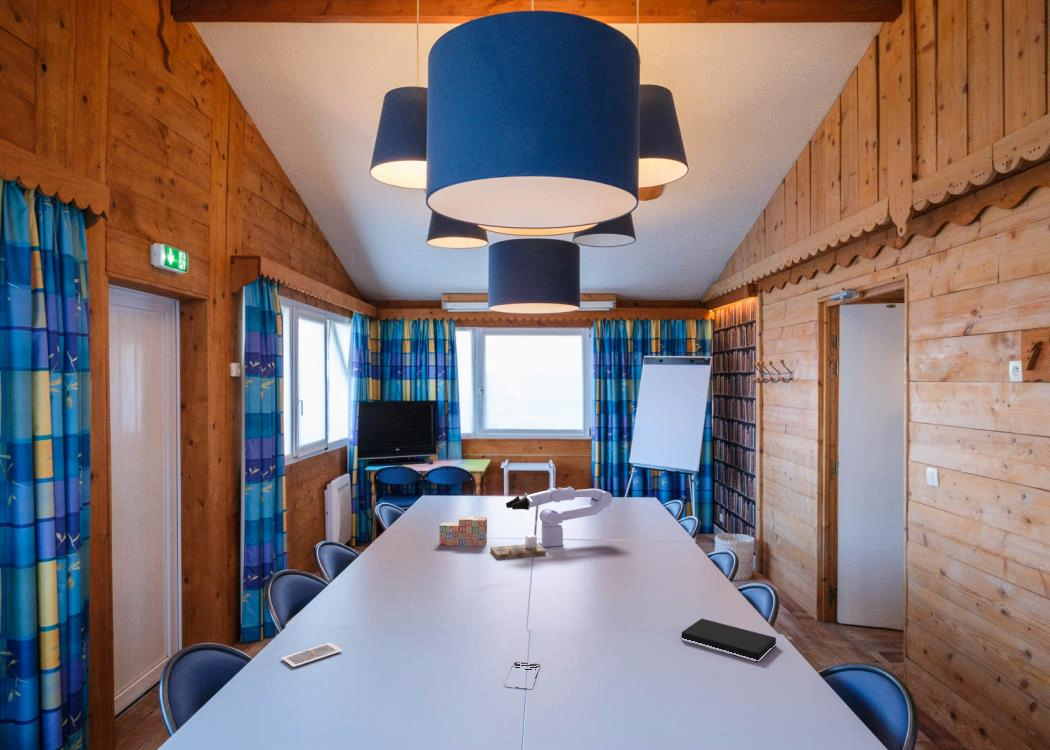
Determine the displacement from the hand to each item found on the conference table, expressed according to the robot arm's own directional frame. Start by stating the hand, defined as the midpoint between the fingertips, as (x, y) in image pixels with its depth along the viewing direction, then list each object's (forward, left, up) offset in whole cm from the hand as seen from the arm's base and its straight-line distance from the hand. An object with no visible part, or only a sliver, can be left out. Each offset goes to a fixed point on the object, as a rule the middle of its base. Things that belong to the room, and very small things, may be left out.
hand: (509, 506), depth 297 cm
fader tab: (-8, +8, -17) cm, 20 cm away
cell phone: (+28, +119, -20) cm, 124 cm away
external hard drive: (-36, +116, -20) cm, 123 cm away
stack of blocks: (+18, -14, -20) cm, 30 cm away
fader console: (-2, +8, -19) cm, 21 cm away
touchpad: (+82, +91, -20) cm, 124 cm away
